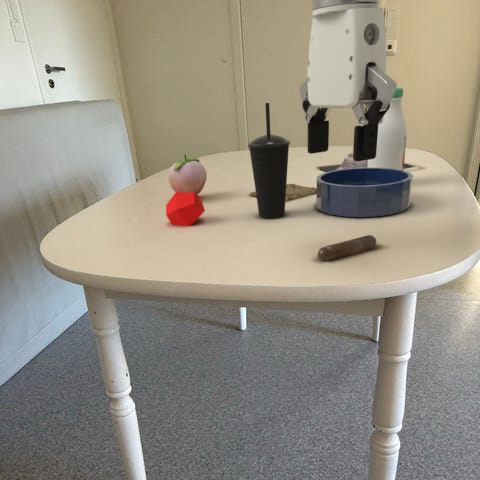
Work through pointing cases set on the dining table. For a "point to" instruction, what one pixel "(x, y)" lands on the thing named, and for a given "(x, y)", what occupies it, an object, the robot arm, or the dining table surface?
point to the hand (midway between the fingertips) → (339, 155)
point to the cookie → (296, 192)
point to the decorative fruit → (187, 176)
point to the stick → (347, 248)
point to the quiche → (352, 164)
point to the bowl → (364, 191)
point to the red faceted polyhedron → (184, 208)
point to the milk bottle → (391, 137)
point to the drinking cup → (270, 171)
